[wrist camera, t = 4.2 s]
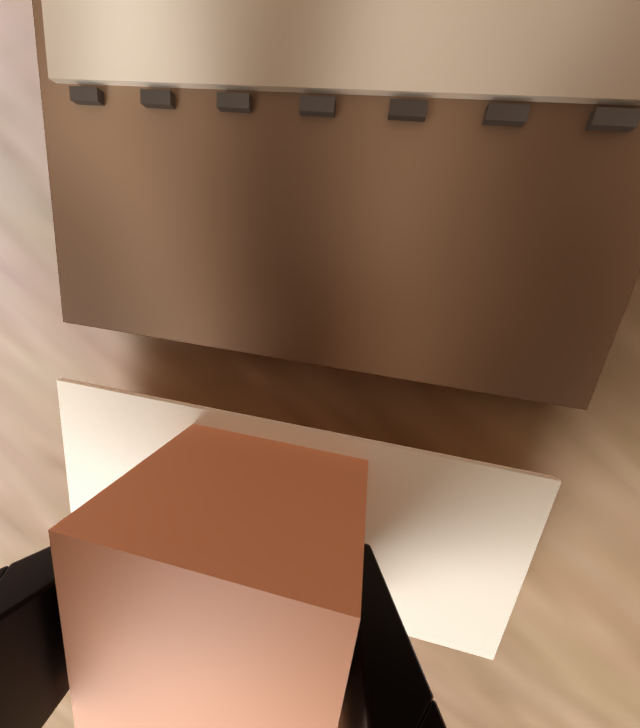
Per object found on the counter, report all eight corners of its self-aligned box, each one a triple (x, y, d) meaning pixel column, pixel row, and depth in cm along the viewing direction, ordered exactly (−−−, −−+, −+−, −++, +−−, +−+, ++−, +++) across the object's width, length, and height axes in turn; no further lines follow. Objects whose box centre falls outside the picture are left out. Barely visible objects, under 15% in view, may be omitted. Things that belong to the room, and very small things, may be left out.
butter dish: (557, 476, 7) (770, 699, 3) (490, 652, 9) (583, 947, 5) (62, 378, 9) (-172, 445, 5) (79, 536, 11) (-94, 679, 7)
